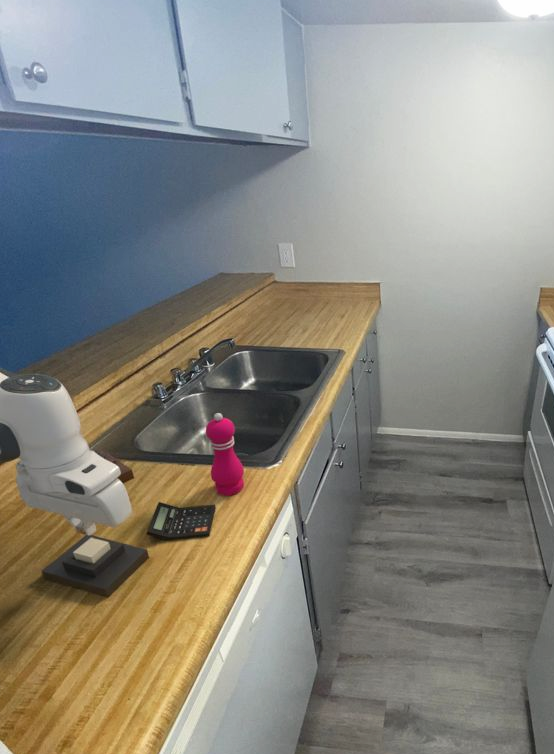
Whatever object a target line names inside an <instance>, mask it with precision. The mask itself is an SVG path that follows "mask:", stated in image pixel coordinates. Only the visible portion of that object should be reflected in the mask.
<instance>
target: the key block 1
mask: <svg viewBox="0 0 554 754" xmlns="http://www.w3.org/2000/svg"><path fill="white" fill-rule="evenodd" d="M90 538H94V539H98V540H102V541H106V542H109V545H110V548H111V549H110V550H109V551H108V552H107V553H105V554H104V555H103V556H102V557H101V558H100V559H98V560H97V561H96V562H95V563H94V564H91V563H87V562H83V561H80V560H76V559H75V556H74V554H73V552H74V551H75V550H77V549H78V548H79V547H80V546H81V545H83V544H84V543H85V542H86V541H88V540H89V539H90ZM148 559H150V555H149V552H148V549H146V548H143V547H140V546H135V545H133V544H132V545H131V544H128V543H125V542H119V541H115V540H111V539H108V538H104V537H99V536H96V535H94V534H92V535H90V536H89V535H84V536H83V537H81V538H80V539H79V540H78V541H76V543H74V544H73V545H72V546H70V547H69V548H68V549H67V550H66V551H64V552H63V553H61V554H60V555H59V556H58V557H57V558H55V559H54V560H53V561H52V562H50V563H49V564H48V565H47V566H45V567H44V568H43V569H42V570H41V571H40V572H41V574H42V576H43V578H44V580H45V581H48V582H53V583H55V584H59V585H63V586H66V587H70V588H74V589H77V590H80V591H84V592H87V593H90V594H95V595H98V596H101V597H104V598H110V597H111V596H112V595H113V594H114V593H115V592H116V591H117V590H118V589H119V588H120V587H121V586H122V585H123V584H125V582H126V581H127V580H128V579H130V577H131V576H132V575H133V574H134V573H136V572H137V570H138V569H139V568H141V566H142V565H143V564H145V562H147V561H148Z"/></svg>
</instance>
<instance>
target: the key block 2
mask: <svg viewBox="0 0 554 754" xmlns="http://www.w3.org/2000/svg"><path fill="white" fill-rule="evenodd" d="M98 452H99V453H101V454H102V455H104V456H105V459H106V460H108V461H110V462H112V463H114V464H116V465H117V466H118V467H119V469H120V472H121V475H120V476H119V477H117V479H119V480H120V481H121V482H122V483H123V484H125V483H127V482H129V481H131V480H133V479H135V475H134V472H133V469H132V468H130V467H128V466H127V465H126V464H125V463H123V462H122V461H120V460H118V459H117V458H115V456H112V455H111V454H110V453H108V452H107V451H105V450H104V449H102V450H98Z"/></svg>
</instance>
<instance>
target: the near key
mask: <svg viewBox="0 0 554 754" xmlns="http://www.w3.org/2000/svg"><path fill="white" fill-rule="evenodd" d="M110 549H111V548H110V545H109V542H106V541H102V540H98V539H94V538H90V539H89V540H88V541H86V542H85V543H84V544H83V545H81V546H80V547H79V548H78V549H77V550H75V551H74V552H73V554H74V556H75V559H76V560H80V561H83V562H87V563H91V564H94V563H95V562H96V561H97V560H98V559H100V558H101V557H102V556H103V555H104V554H105V553H107V552H108V551H109V550H110Z"/></svg>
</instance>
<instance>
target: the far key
mask: <svg viewBox="0 0 554 754" xmlns="http://www.w3.org/2000/svg"><path fill="white" fill-rule="evenodd" d="M93 451H94V452H95V453H96V454H98V455H99V456H101V457H102V458H104V459H105V456H104V455H102V454H101V453H99V450H93Z"/></svg>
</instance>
